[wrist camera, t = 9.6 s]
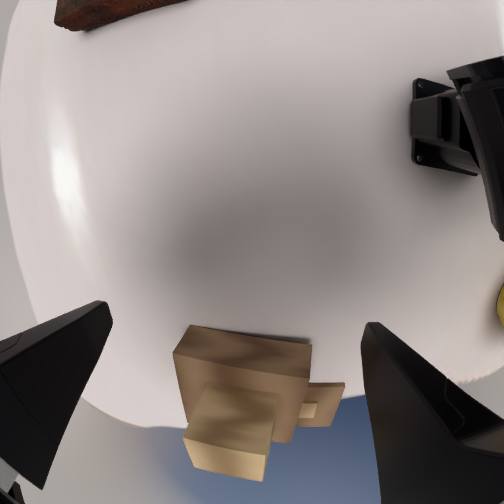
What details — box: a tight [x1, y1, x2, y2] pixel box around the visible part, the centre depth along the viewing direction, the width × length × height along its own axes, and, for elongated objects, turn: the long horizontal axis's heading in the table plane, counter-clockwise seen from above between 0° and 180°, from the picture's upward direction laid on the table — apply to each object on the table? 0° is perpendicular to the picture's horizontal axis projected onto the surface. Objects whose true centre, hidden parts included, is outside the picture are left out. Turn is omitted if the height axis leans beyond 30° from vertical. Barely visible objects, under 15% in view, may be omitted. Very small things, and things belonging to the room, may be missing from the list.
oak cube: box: [183, 382, 279, 481], centre depth 20 cm, size 6×6×6 cm
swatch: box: [296, 383, 345, 427], centre depth 28 cm, size 8×8×1 cm
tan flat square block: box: [173, 325, 312, 443], centre depth 24 cm, size 11×11×4 cm
